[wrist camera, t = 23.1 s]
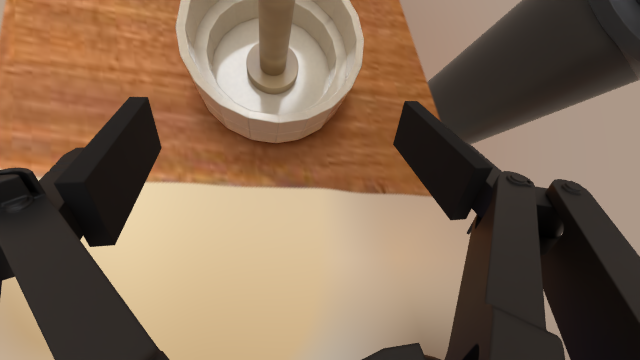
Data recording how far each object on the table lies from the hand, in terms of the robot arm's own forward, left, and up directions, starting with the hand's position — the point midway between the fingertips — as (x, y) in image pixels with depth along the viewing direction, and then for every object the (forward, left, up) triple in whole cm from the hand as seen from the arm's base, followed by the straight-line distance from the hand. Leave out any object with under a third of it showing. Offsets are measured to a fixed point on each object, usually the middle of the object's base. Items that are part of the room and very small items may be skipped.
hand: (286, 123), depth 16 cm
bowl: (+7, -4, -10) cm, 13 cm away
